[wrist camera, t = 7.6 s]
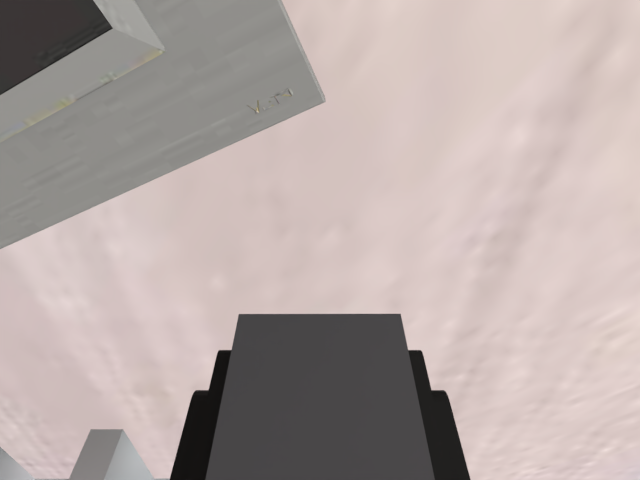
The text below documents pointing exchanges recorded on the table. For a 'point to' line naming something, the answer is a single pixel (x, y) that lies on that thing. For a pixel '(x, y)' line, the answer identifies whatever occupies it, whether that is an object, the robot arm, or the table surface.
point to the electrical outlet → (133, 95)
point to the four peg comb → (93, 460)
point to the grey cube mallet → (319, 401)
